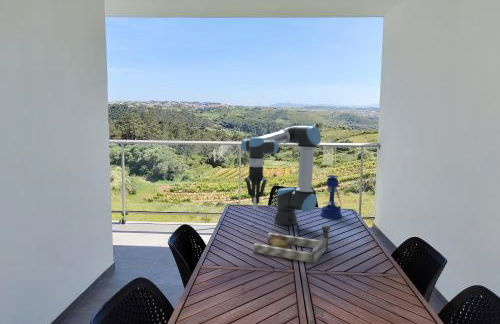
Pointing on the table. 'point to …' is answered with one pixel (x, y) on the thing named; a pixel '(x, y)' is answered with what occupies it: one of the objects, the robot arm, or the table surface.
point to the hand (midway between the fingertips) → (255, 208)
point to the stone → (278, 241)
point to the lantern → (332, 200)
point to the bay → (294, 254)
